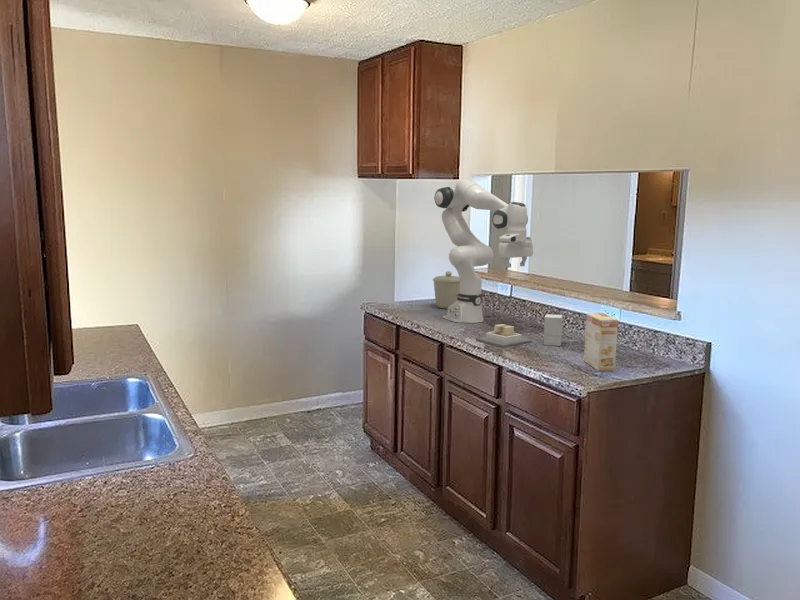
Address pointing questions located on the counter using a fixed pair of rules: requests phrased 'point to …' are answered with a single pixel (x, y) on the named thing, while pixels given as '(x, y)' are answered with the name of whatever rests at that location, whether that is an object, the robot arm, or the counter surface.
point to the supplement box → (553, 329)
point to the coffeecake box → (601, 341)
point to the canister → (446, 289)
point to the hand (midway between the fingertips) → (515, 266)
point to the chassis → (503, 339)
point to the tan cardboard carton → (504, 330)
